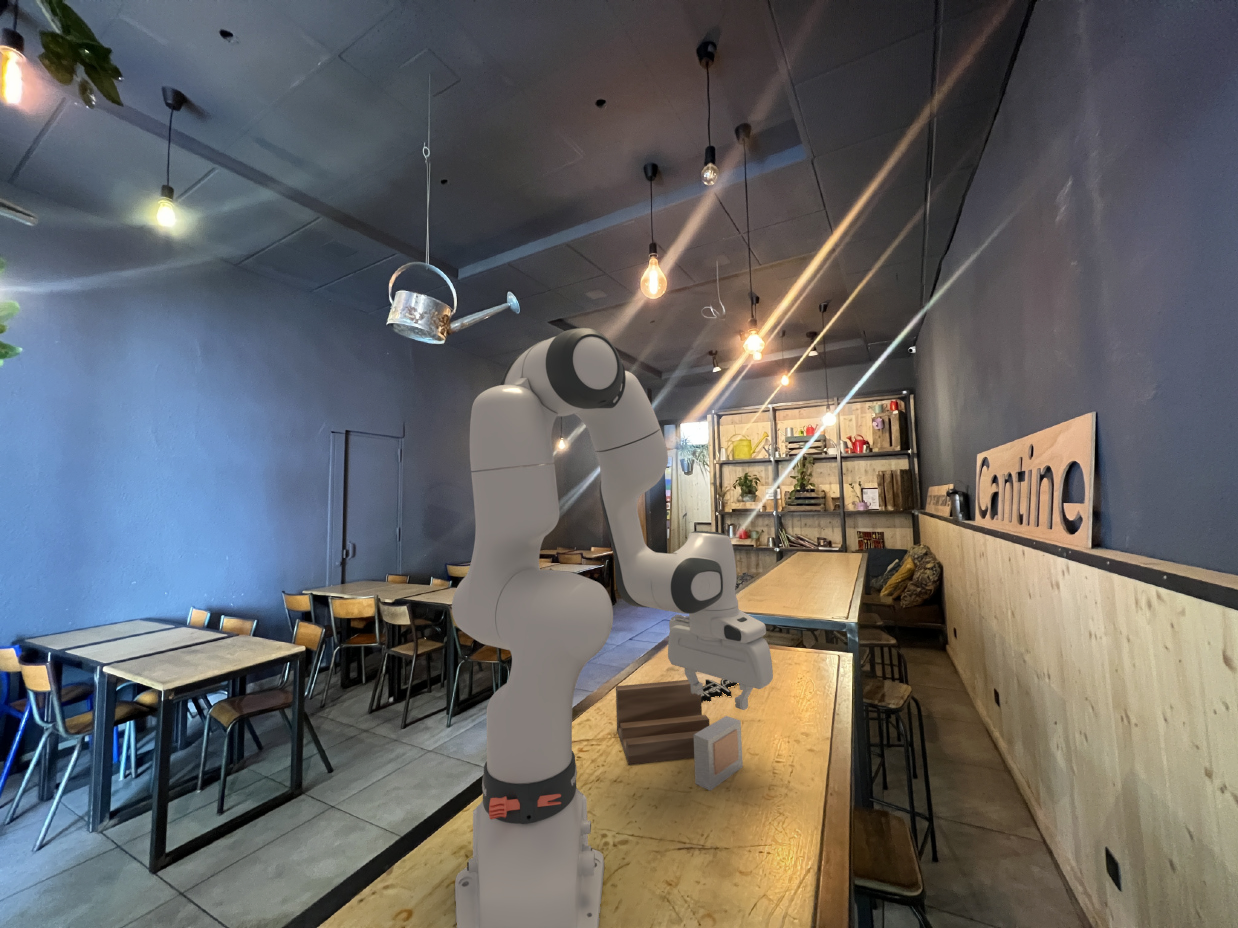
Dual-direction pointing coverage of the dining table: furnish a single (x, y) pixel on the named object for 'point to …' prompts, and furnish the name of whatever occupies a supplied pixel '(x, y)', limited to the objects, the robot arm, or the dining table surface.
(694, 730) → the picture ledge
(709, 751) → the light grey rectangular block
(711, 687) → the nameplate
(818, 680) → the dining table surface
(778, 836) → the dining table surface
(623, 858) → the dining table surface
